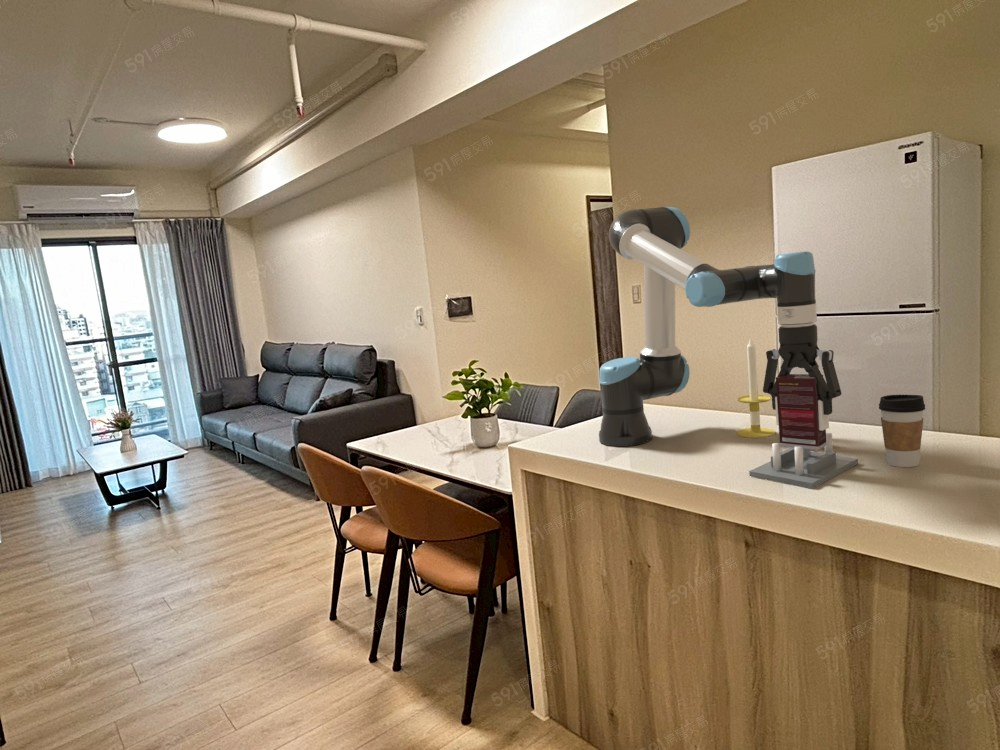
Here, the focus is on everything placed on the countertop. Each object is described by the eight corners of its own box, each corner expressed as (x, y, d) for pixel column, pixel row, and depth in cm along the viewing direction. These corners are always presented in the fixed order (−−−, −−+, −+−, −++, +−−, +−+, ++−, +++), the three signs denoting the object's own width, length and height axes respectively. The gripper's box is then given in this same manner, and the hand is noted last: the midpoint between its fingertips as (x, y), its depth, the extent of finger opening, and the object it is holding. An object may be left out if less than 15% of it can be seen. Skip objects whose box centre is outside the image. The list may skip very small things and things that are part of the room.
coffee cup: (911, 471, 128) (910, 402, 126) (871, 463, 135) (869, 397, 133) (934, 462, 132) (933, 394, 129) (894, 455, 139) (892, 390, 137)
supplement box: (827, 445, 134) (824, 374, 132) (819, 451, 131) (815, 378, 128) (787, 441, 140) (784, 373, 138) (778, 446, 137) (774, 376, 135)
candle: (739, 438, 165) (733, 340, 161) (734, 429, 175) (728, 336, 171) (779, 436, 163) (774, 336, 159) (771, 427, 173) (766, 333, 169)
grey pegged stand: (749, 476, 136) (747, 445, 135) (796, 454, 148) (795, 425, 147) (812, 488, 125) (810, 455, 124) (857, 463, 136) (857, 432, 135)
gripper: (741, 327, 138) (747, 424, 141) (840, 326, 121) (844, 436, 124) (760, 323, 142) (765, 417, 146) (858, 321, 125) (862, 428, 128)
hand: (802, 426), depth 135 cm, fingers closed on supplement box, 9 cm apart
